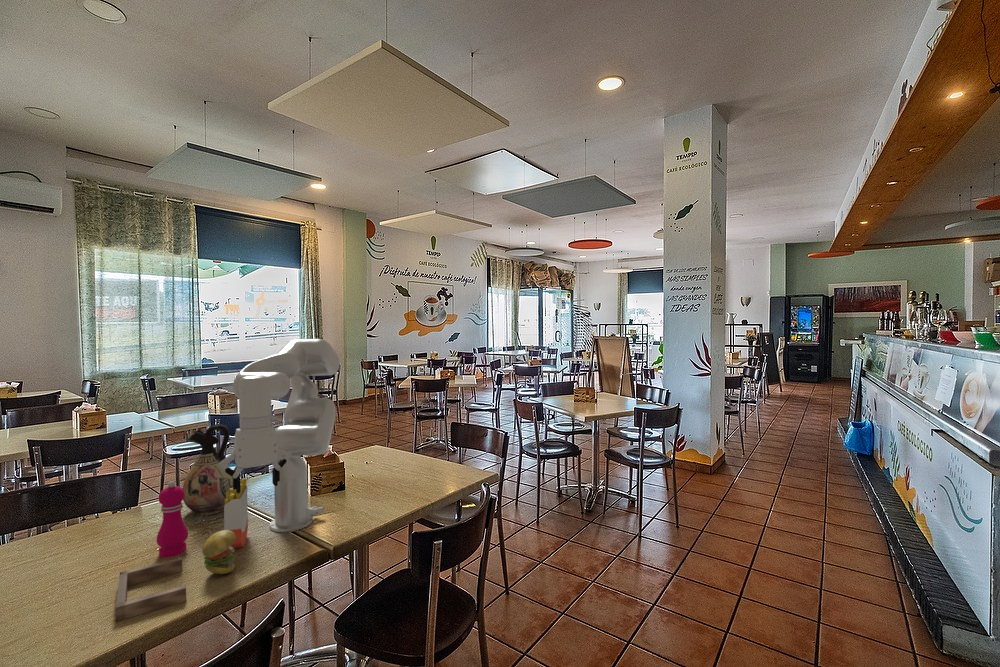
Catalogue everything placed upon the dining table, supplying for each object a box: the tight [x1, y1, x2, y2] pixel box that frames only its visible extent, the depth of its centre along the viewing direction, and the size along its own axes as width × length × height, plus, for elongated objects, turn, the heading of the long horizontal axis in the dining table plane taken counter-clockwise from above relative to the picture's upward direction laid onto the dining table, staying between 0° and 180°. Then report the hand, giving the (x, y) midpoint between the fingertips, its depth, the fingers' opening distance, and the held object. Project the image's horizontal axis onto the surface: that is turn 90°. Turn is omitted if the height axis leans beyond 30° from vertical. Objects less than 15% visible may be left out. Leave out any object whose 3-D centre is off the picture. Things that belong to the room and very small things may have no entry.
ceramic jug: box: [182, 423, 233, 516], centre depth 160 cm, size 17×15×30 cm
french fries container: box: [223, 477, 249, 549], centre depth 136 cm, size 5×11×18 cm, turn 19°
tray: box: [115, 556, 187, 622], centre depth 112 cm, size 12×18×3 cm
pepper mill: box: [156, 480, 189, 559], centre depth 131 cm, size 7×7×20 cm
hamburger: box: [201, 529, 236, 575], centre depth 120 cm, size 8×7×12 cm
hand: (256, 487), depth 125 cm, fingers open, 8 cm apart
